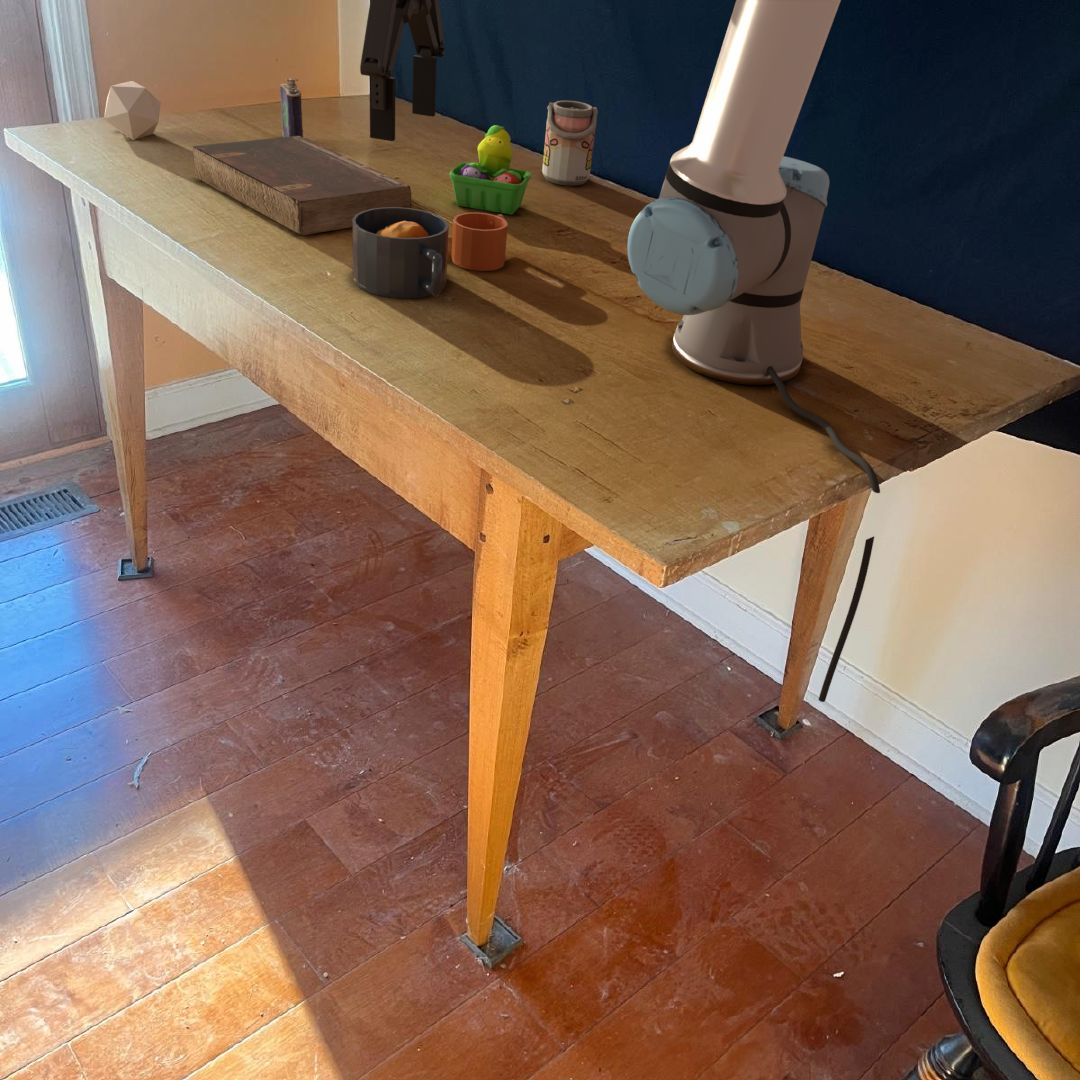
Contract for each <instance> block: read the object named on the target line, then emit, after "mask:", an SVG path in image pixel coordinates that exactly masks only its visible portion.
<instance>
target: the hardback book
mask: <svg viewBox="0 0 1080 1080" xmlns="http://www.w3.org/2000/svg"><path fill="white" fill-rule="evenodd" d="M192 152H193V153H192V154H193V162H194V163H193V164H194V172H195V178H196V179H198V180H200V181H202V182H204V183H206V184H207V185H209V186H211V187H212V188H214V189H216V190H219V191H220V192H222V193H224V194H225V195H227V196H230V197H231V198H233V199H235V200H237V201H238V202H240V203H242V204H244V205H246V206H247V207H249V208H251V209H253V210H254V211H256V212H259V213H260V214H262V215H264V216H266V217H268V218H269V219H271V220H273V221H275V222H276V223H279V224H280V225H282V226H284V227H286V228H287V229H289V230H291V231H293V232H295V233H297V234H298V235H301V236H307V235H311V234H318V233H324V232H331V231H337V230H342V229H348V228H352V219H353V217H354V216H355V215H356V214H358V213H360V212H362V211H365V210H369V209H374V208H383V207H401V208H412V189H411V186H410V185H409V184H408V183H407V184H406V183H404V182H402V181H400V180H398V179H396V178H393V177H391V176H389V175H387V174H384V173H382V172H380V171H378V170H375V169H373V168H371V167H369V166H367V165H364V164H362V163H361V162H358V161H356V160H353V158H352V159H351V158H350V157H347V156H345V155H343V154H340V153H339V152H336V151H334V150H331V149H329V148H328V147H325V146H323V145H320V144H318V143H316V142H314V141H312V140H310V139H307V138H305V137H304V136H303V137H301V136H290V137H282V136H281V137H280V136H279V137H271V138H261V139H250V140H240V141H230V142H229V141H228V142H218V143H209V144H199V145H198V144H197V145H192Z"/></svg>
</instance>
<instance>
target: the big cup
mask: <svg viewBox="0 0 1080 1080" xmlns="http://www.w3.org/2000/svg"><path fill="white" fill-rule="evenodd" d="M402 221H408V222H415V223H418V224H419V225H421V226H422V227H423V228H424V230H425V231H426V232H427V233H428V234H429V236H428V237H421V238H395V237H387V236H382V235H377V234H376V233H377V232H378V231H379V230H382V229H385V228H386V227H389V226H390V225H392V224H395V223H398V222H402ZM351 229H352V230H351V233H352V234H351V236H352V237H351V239H352V240H351V241H352V246H351V247H352V281H353V283H354V284H355V285H356V286H357V288H359V289H360V290H363V291H364V292H367V293H370V294H373V295H376V296H381V297H384V298H392V299H418V298H419V299H420V298H425V297H430V296H433V297H436V298H437V297H439V296H440V295H441V294H442V290H444V288H445V287H446V285H447V278H448V275H447V274H448V254H449V253H448V252H449V231H450V230H449V229H450V226H449V223H448V221H447V220H446V219H444V218H443V217H442V216H440V215H437V214H435V213H433V212H430V211H426V210H423V209H417V208H416V209H415V208H412V207H411V208H401V207H383V208H374V209H369V210H365V211H362V212H360V213H358V214H356V215H355V216H354V217H353V219H352V227H351Z"/></svg>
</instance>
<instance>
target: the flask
mask: <svg viewBox="0 0 1080 1080" xmlns="http://www.w3.org/2000/svg"><path fill="white" fill-rule="evenodd" d="M285 81H286V83H281V84H280V85H279V92H280V93H279V94H280V95H279V96H280V108H281V130H282V133H281V137H290V136H301V137H303V138H304V130H303V128H304V127H303V109H302V108H303V107H302V92H301V90H300V89H299V88H298V86H297V84H296V82H298V81H299V78H295V77H294V78H285Z"/></svg>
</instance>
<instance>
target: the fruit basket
mask: <svg viewBox="0 0 1080 1080" xmlns="http://www.w3.org/2000/svg"><path fill="white" fill-rule="evenodd" d="M511 140H512V139H511V136H510V134H509V133H508V132H507V130H505V127H504V126H500V125H497V124H496V125H492V126H491V127H489V129H488V130H487V133H486V134H484V138H483V139H482V140H481V141H480V142H479V144H478V145H477V156H478V162H466V161H465V162H461V163H460V164H458V165H457V166H456V167H454V168H453V169H452V170H450V171H449V177H450V180H451V182H452V188H453V193H454V197H455V201H456V205H457V206H458V207H463V208H470V209H475V210H476V209H477V210H481V211H484V210H485V211H487V212H492V213H500V214H506V215H510V216H512V215H514V213H515V212H516V211H517V210H518V209H519V208H520V207H521V205H522V202H523V199H524V196H525V193H526V189H527V187H528V183H529V182H530V179H531V177H532V172H530V171H526V170H520V169H516V168H511V162H512V159H513V150H512V147H511Z"/></svg>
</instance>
